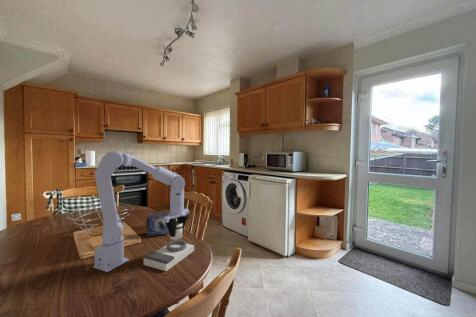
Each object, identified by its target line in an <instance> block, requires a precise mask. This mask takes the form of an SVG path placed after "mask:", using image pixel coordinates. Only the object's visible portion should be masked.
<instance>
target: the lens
mask: <svg viewBox="0 0 476 317" xmlns="http://www.w3.org/2000/svg"><path fill="white" fill-rule="evenodd" d="M182 228H183V223H182V222H178V223H177V226H176V234H175V237H171V236H170V235H169V237H170V238H169V239H170V240H172V241H175V240H181V239H182V238H183V232H182Z"/></svg>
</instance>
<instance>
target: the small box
mask: <svg viewBox="0 0 476 317" xmlns="http://www.w3.org/2000/svg"><path fill="white" fill-rule="evenodd" d="M168 214H169V212H154V213H153V212H152V213H151V212H150V213H147V215H146V232H145V233H146V235H145V236H146V237H147V238H148V237H159V236H161V237H162V236H168V234H169V230H168V227H167V225H166V224H165V222H163V221H164V217H165V216H167V215H168Z"/></svg>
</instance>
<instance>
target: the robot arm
mask: <svg viewBox="0 0 476 317" xmlns="http://www.w3.org/2000/svg"><path fill="white" fill-rule="evenodd" d="M121 166H124V167H135V168H137V169H139V170H142V171H144V172H146V173H149V174H150V175H152V179H154V180H156V181H159V182H161V183H163V184H165V185H167V186H169V185H170V194H169V196H170V198H169V202H170V203H169V204H170V206H169V207H170V208H169V209H170V210H169V212H168V215H167V216H165V217H164V221H163V222H165V224H166V225H167V227H168V234H169V237H170V236H171V237H175V234H176V226H177V223H178V222H182V223H183V228H182V233H184V231H185V226H186V223H187V222H188V220H189V214H190V210H189V208H185V191H184V190H185V186H186V180H185V178H184V177H182V175H180V174H178V173H177V172H176V171H174V172H173V171H171V170H169V169H168V168H167V167H166V166H165V165H163V166H160V165H159V166H154V165H152V164H150V163H148V162H146V161H144V160H142V159H141V158H138V157H137V156H134V155H132V154H129V153H127V152H126V153H125V152H123V151H121V150H110V151H108V152H107V153H106V154H105V155H103V156H102V157H101V159H100V162H99V164H98V166H97V168H96V169H95V171H94V179H95V183H96V187H97V193H98V198H99V202H100V203H99V204H100V208H101V213H102V214H101V215H102V218H103V221H102V222H103V223H102V229H103V231H102V234H101V240H102V242H101V244H99V246H97V247H96V248H95V250H94V252H93V253H94V255H93V256H94V265H93V266H92V268H94V269H97V270H100V271H103V272H105V273H108V272H110V271H112V270H114V269H116V268H117V267H120V266H121V265H123V264H125V263H127V262H128V261H130V259H129V258H127V257H125V238H124V236H123V234H122V233H123V232H124V228H125V227H124V226H125V225H124V224H123V222H122V221H121V220H120V219H121V218H120V216H119V214H118V210H117V204H116V199H115V194H114V187H113V183H112V177H111V175H113V174H114V173H115V171H116V170H117V169H118V168H120V167H121ZM175 219H176V220H175Z"/></svg>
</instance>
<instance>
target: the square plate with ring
mask: <svg viewBox="0 0 476 317" xmlns="http://www.w3.org/2000/svg"><path fill="white" fill-rule="evenodd" d="M194 251H195V245H194V244H191V243H188V242H186V241H185V240H181V239H179V240H172V241H169V242H167V244H166V245H164V246H163V247H161V248H159V249H158V250H155V251H154V250H152V251H150V252H148V253H147V254H145V255H144V258H143V266H147V267H151V268H153V269H158V270H160V271H164V272H167V271H169V270H170V269H171V268H172V267H174V266H175V265H177V264H179V262H181V261H182V260H184V259H185V258H186V257H188V256H189V255H191V254H192V253H193V252H194Z"/></svg>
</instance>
